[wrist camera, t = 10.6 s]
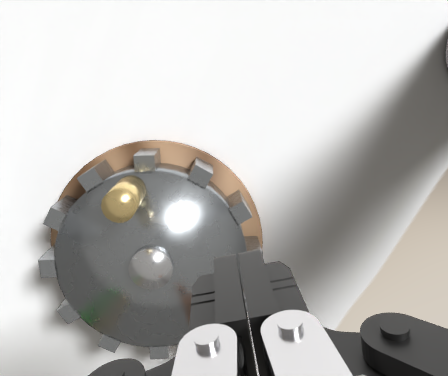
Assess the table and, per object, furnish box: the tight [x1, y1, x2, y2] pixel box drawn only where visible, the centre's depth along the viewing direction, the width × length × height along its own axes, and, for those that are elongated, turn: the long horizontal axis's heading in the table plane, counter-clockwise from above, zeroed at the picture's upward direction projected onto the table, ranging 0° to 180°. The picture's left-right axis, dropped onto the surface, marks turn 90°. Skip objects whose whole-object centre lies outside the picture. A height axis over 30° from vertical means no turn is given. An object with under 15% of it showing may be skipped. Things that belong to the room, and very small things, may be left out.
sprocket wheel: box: [38, 148, 263, 359], centre depth 35 cm, size 21×21×9 cm
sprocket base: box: [51, 140, 263, 249], centre depth 36 cm, size 22×25×11 cm
